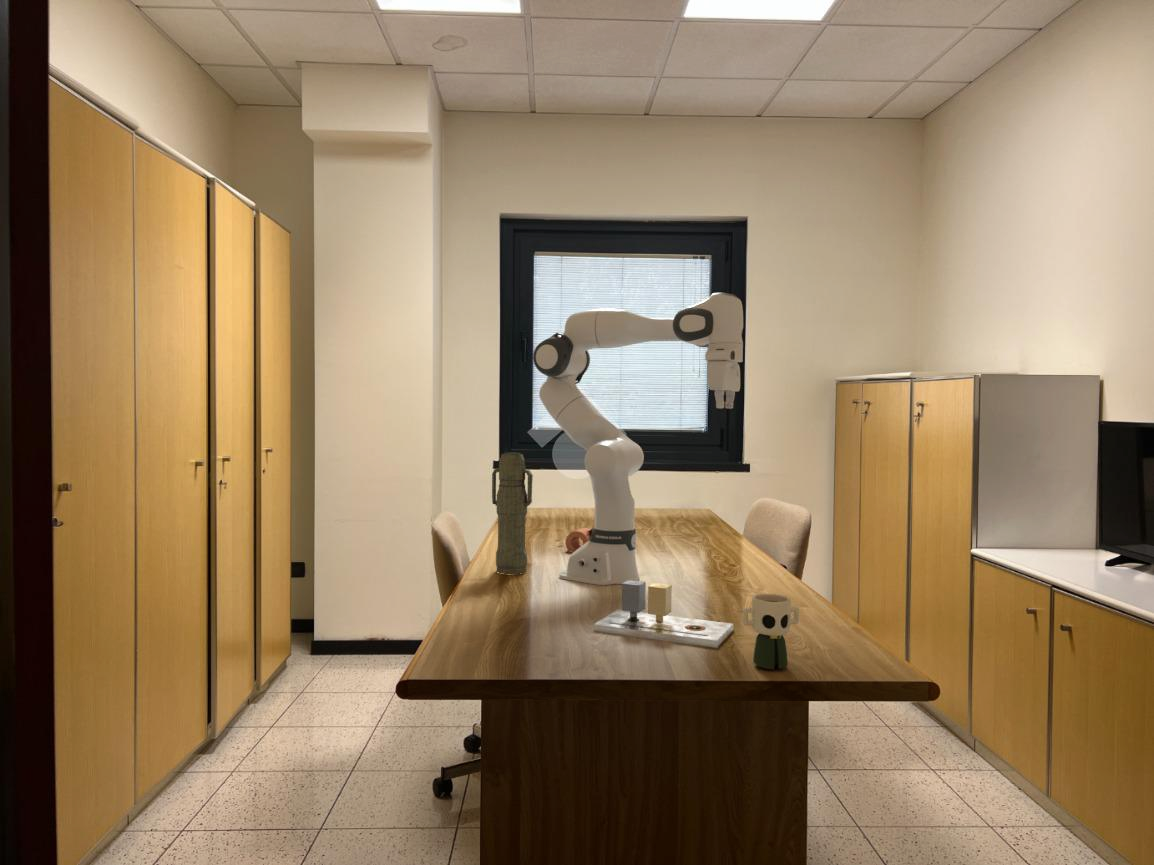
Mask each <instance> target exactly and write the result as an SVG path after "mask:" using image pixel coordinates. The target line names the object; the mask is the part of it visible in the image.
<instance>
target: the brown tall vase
mask: <svg viewBox="0 0 1154 865" xmlns="http://www.w3.org/2000/svg"><path fill="white" fill-rule="evenodd" d="M497 473H498V480H499V484H498V491H497ZM526 475H527V489H526V483H525V480H526ZM491 476H492V477H491V498H492V505H495V507H496V514H497V549H496V552H495V565H496V573H497V572H499V573H504V574H520V573H524V572H526V573H527V565H528V552H527V551H528V550H527V547H526V515H527V514H528V507H529V506H530V505H532V502H533V476H534V475H533V473H532V471H531V470H530V469H526V460H525V458H524V454H522V453H521V452H515V451H514V452H512V451H511V452H504V453H501V455H500V459H499V462H498V468H495V469H494V470H493V471H492V473H491ZM524 574H525V573H524ZM520 575H521V574H520Z"/></svg>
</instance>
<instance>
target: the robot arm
mask: <svg viewBox="0 0 1154 865" xmlns="http://www.w3.org/2000/svg"><path fill="white" fill-rule="evenodd" d="M743 329H744V309H743V304H742V301H741V299H740V298H739V297H738V296H737V295H735V294H731V293H728V292H727V293H725V292H713V293H712V294H711V295H710V296H709V297H708V298H706V299H705V300H702V301H701V302H698V303H696V304H693V305H690V306H688V307H687V306H686V307H683V308H681V309H680V310H679V311H678V312H677V313H676V314H675V315H674V317H673V318H668V317H667V318H653V317H648V316H644V315H641V314H637V313H635V312H632V311H628V310H625V309H617V308H594V309H588V310H583V311H578V312H574V313H572V314H570V315H569V316H568V318H567V319H566V321H565V324H564V332H563V333H561V332H555V333H554V334H553V335H551V336H550V337H548V338H546V339H545V340H542V341H541V342H539V343H538V344H537V345H536V346H535V348H534V351H533V354H532V361H533V364H534V367H535V368H536V369H537V371H538V372H540V373H541V374H543V375H544V376H547V377H546V380H545V381H544V382H543V384H542V385H541V387H540V389H539V392H538V394H539V399H540V401H541V402H542V405H543V406H544V408H545V409H546V411H547V412H548V414H549V415H550V416H551V417H552V419H553V420H554V421H555V422H556V424H557V425H558V426H559V427H560V429H562V431H563V432H564V433H565V434H566V435H567V436H568V438H570V440H571V441H573V443H574V444H576V445H577V446H580V447H581V448H583V449H584V450H585V451H586V453H585V456H584V461H583V463H584V468H585V470H586V472H587V473H588V475H589V478H590V482H591V487H592V491H593V499H594V527H593V528H590V529H591V530H589V531H588V532H586V533H588V534H587V535H586V536H588V535H589V541H588V542H586V543H585V544H584V545H583V544H582V546H581V547H580V548H579V549H577V550H576V551H575V552H571V554H570V556H569V558H568V561H567V567H566V569H564V570H562V571H561V572H560V573H559V575H558V577H559V579H561V580H567V581H568V580H569V581H573V582H581V583H586V584H592V585H596V586H597V585H599V586H608V585H619V584H621V585H622V583H624V582H626V581H628V580H633V581H640V575H639V572H638V566H637V560H636V559H637V558H636V546H637V534H636V532H637V531H636V530H637V528H635V507H636V506H635V503H636V502H635V499H634V497H633V495H632V492H631V488H630V481H629V477H631V476H634V475H635V474H636V472H638V471H640V469H641V467H642V466H643V464H644V460H645V458H644V457H645V454H644V451H643V449H642V447H641V446H640V445H639V444H638V443H636V442H635V441H633V440H632V439H631V438H629V437H628V436H627V435H626V434H625V433H624V432H623V431H621V430H620V429H619V428H618V427H617V426H616V425H614V424H613V423H612V422H611V421H609V420H608V418H606V417H604V415H603V414H602V413H601V412H600V411H599V410H598V409H597V408H596V407H595V406H594V404H593V403H592V402H591V401H590V400H589V399H588V398H587V397H586V396H585V395H584V393H582V392H581V390H580V389H579V388H578V386H577V384H579V383H580V382H581V380H582V378H583V376H584V375H585V373H586V372H587V370H588V369H589V367H590V364H591V356H590V354H589V350H593V349H614V348H615V349H616V348H622V347H627V346H632V345H637V344H642V343H649V342H669V341H670V342H684V343H687V344H690V345H693V346H697V347H699V348H707V350H706V352H705V356H704V359H705V361H706V362H707V363H706V367H707V368H706V370H707V372H706V374H707V385H708V389H709V390H710V391H714V397H715V398H714V399H715V408H716V409H724V408H725V409H733V408H734V400H735V395H736V392H740V389H741V368H740V364H738V363H743V361H744V360H743V357H744V355H743V354H744V353H743V352H744V351H743V349H744V342H743V341H744V340H743V337H742V335H743ZM724 395H725V401H724Z"/></svg>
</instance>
